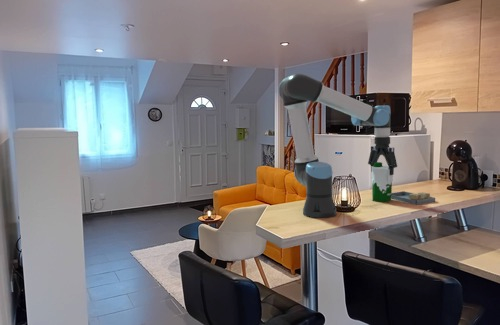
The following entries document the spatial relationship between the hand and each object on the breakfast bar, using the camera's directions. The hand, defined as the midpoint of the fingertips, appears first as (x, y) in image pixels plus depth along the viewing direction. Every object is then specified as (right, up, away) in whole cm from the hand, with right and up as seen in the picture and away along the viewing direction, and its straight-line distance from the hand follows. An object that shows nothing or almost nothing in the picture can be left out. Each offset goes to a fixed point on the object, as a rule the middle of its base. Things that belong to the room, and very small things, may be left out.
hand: (381, 179), depth 194 cm
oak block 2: (+20, -11, -3) cm, 23 cm away
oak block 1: (+15, -11, -5) cm, 19 cm away
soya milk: (0, -11, +1) cm, 11 cm away
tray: (+15, -11, +1) cm, 18 cm away
